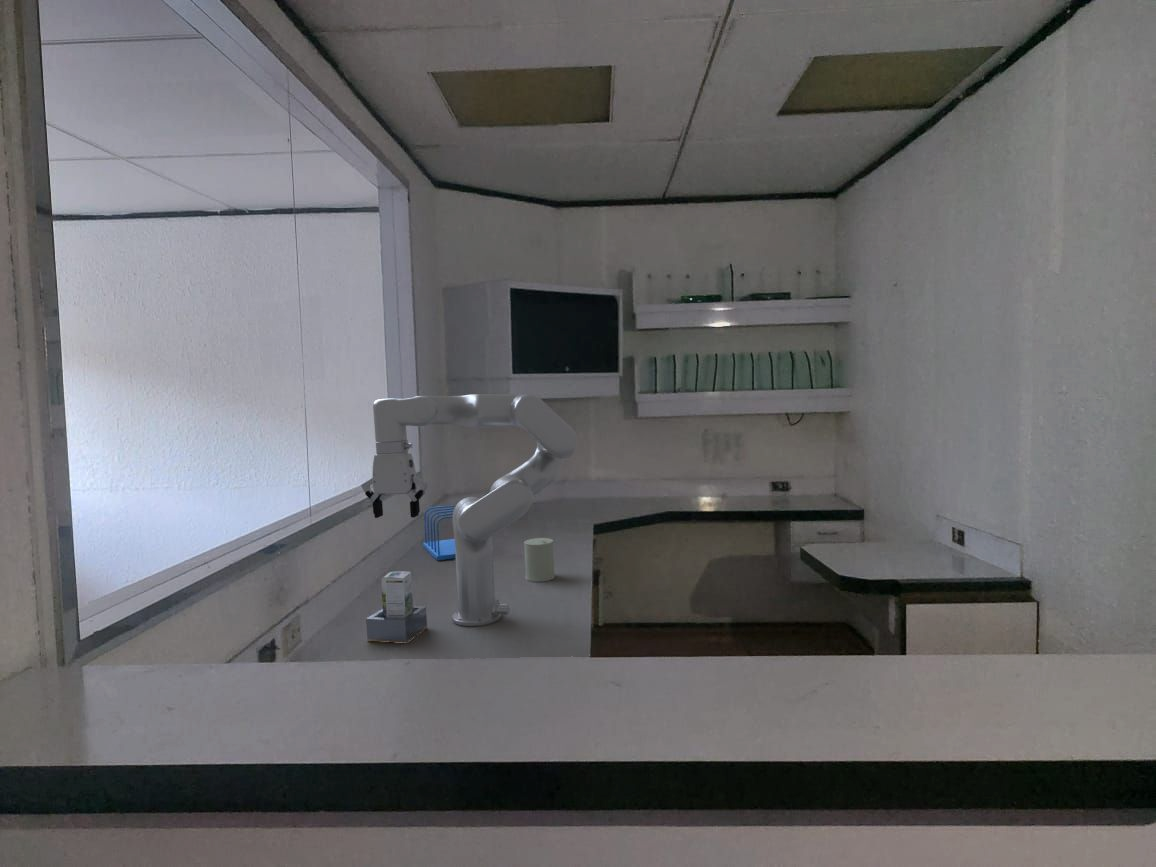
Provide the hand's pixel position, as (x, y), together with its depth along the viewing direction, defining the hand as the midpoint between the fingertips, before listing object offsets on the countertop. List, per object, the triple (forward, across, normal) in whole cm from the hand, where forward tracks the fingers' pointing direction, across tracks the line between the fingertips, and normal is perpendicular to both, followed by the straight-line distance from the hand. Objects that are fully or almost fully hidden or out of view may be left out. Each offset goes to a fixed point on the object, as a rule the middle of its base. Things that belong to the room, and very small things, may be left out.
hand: (396, 516), depth 168 cm
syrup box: (+28, -1, +4) cm, 28 cm away
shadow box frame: (+28, 0, +4) cm, 29 cm away
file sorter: (+29, +18, -78) cm, 85 cm away
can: (+29, -23, -46) cm, 60 cm away
